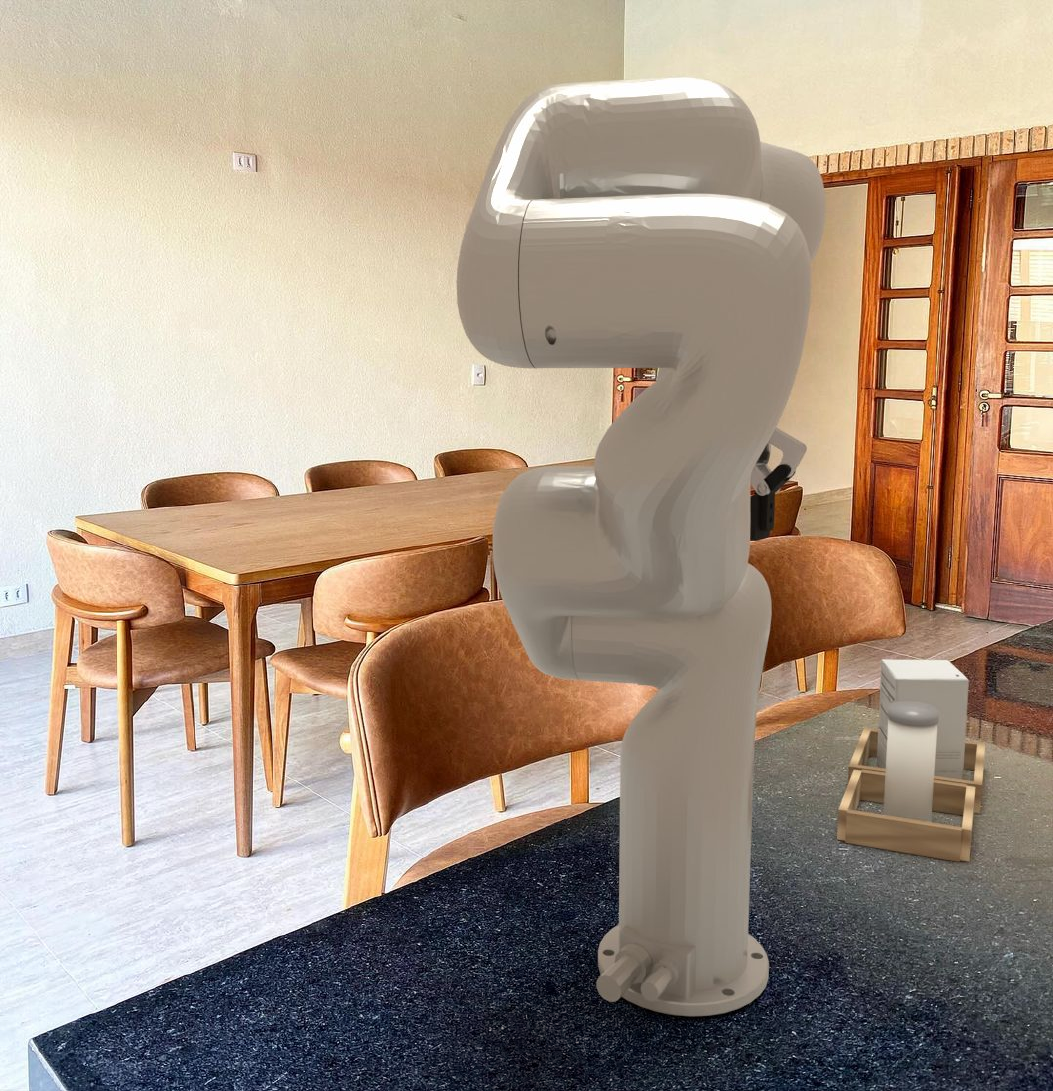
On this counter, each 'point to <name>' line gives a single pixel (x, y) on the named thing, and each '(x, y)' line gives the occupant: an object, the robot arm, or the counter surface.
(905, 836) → the oak rack
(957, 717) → the supplement box
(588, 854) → the counter surface
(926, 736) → the frosted tube
